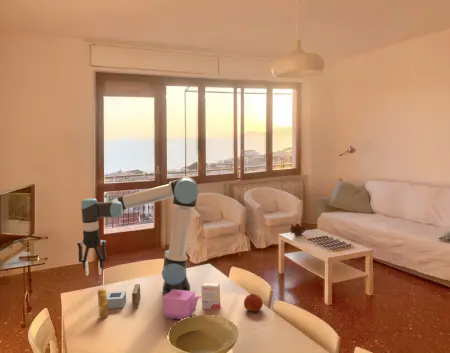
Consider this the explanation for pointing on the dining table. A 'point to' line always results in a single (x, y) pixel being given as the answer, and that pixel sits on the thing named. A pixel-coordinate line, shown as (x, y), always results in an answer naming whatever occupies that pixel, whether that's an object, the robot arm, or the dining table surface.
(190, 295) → the teapot
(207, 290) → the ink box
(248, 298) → the fruit
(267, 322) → the dining table surface
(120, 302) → the block
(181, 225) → the robot arm
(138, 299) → the board
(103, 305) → the golden brown tall cylinder
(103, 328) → the dining table surface
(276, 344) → the dining table surface
